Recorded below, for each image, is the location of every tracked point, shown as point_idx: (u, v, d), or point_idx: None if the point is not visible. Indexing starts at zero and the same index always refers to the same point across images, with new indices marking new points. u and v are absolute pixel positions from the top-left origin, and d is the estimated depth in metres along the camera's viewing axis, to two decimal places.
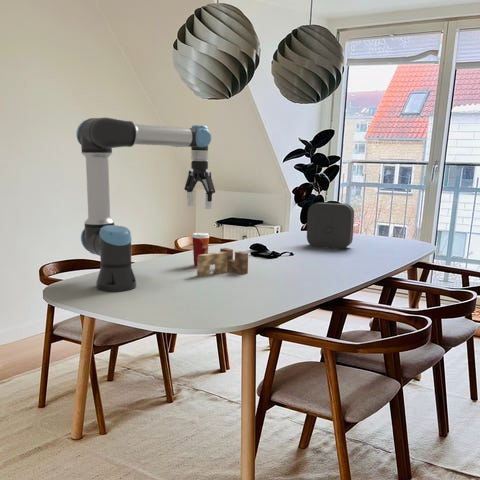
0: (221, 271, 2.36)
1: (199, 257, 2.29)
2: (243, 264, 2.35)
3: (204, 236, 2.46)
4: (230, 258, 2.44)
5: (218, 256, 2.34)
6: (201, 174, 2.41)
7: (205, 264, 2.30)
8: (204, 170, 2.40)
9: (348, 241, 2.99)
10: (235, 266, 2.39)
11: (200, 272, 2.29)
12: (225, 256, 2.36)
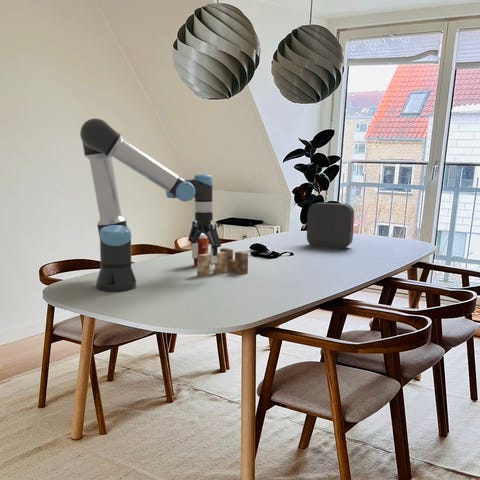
0: (221, 271, 2.36)
1: (199, 257, 2.29)
2: (243, 264, 2.35)
3: (204, 236, 2.46)
4: (230, 258, 2.44)
5: (218, 256, 2.34)
6: (206, 226, 2.25)
7: (205, 264, 2.30)
8: (209, 222, 2.25)
9: (348, 241, 2.99)
10: (235, 266, 2.39)
11: (200, 272, 2.29)
12: (225, 256, 2.36)
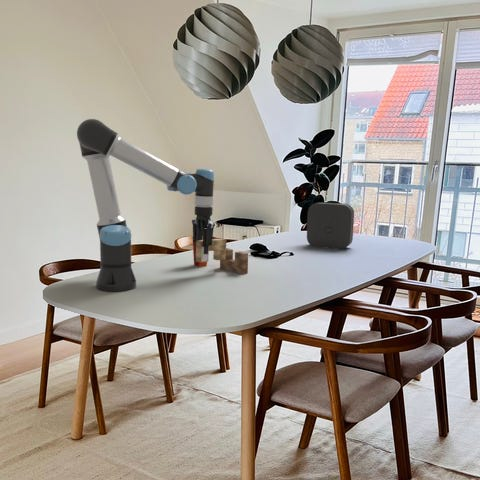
0: (220, 258, 2.35)
1: (198, 243, 2.28)
2: (243, 264, 2.35)
3: None
4: (230, 258, 2.44)
5: (217, 242, 2.33)
6: (205, 221, 2.25)
7: None
8: (208, 217, 2.25)
9: (348, 241, 2.99)
10: (235, 266, 2.39)
11: (198, 258, 2.28)
12: (224, 243, 2.35)
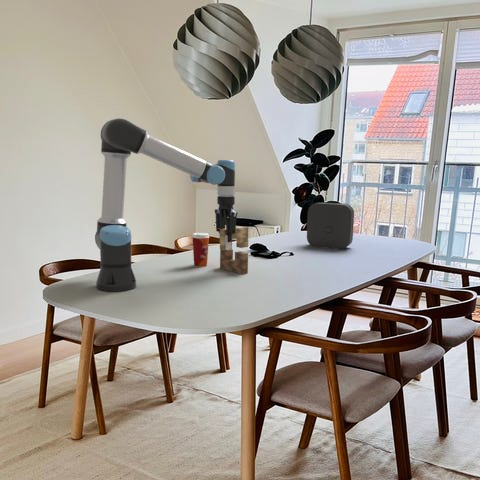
0: (242, 245, 2.42)
1: (222, 231, 2.35)
2: (243, 264, 2.35)
3: (204, 236, 2.46)
4: (230, 258, 2.44)
5: (240, 230, 2.40)
6: (227, 210, 2.32)
7: None
8: (231, 206, 2.32)
9: (348, 241, 2.99)
10: (235, 266, 2.39)
11: (223, 246, 2.35)
12: (246, 231, 2.42)
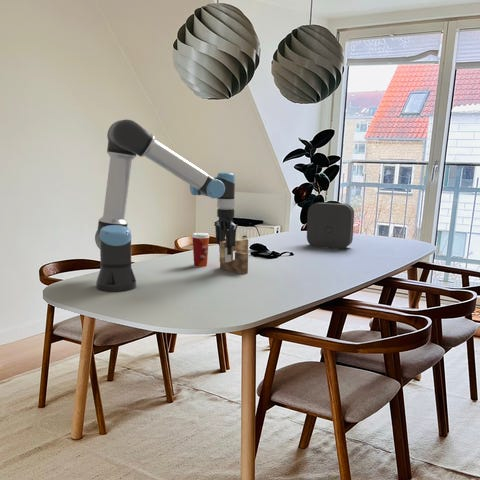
0: None
1: (221, 243, 2.36)
2: (243, 264, 2.35)
3: (204, 236, 2.46)
4: None
5: (240, 242, 2.41)
6: (227, 222, 2.33)
7: None
8: (231, 219, 2.32)
9: (348, 241, 2.99)
10: (235, 266, 2.39)
11: (222, 258, 2.36)
12: (246, 243, 2.43)
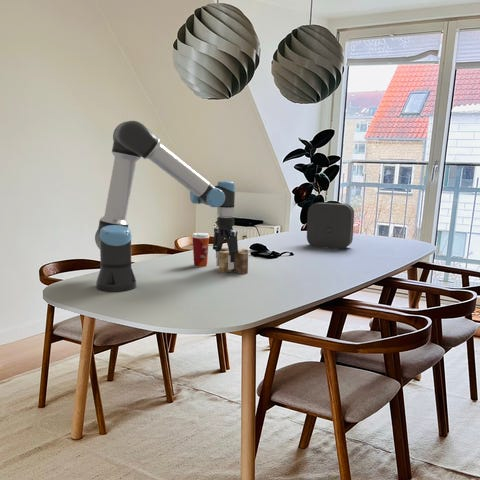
0: None
1: (221, 254, 2.37)
2: (243, 264, 2.35)
3: (204, 236, 2.46)
4: None
5: None
6: (227, 231, 2.33)
7: (227, 261, 2.37)
8: (230, 227, 2.33)
9: (348, 241, 2.99)
10: (235, 266, 2.39)
11: (222, 268, 2.37)
12: None
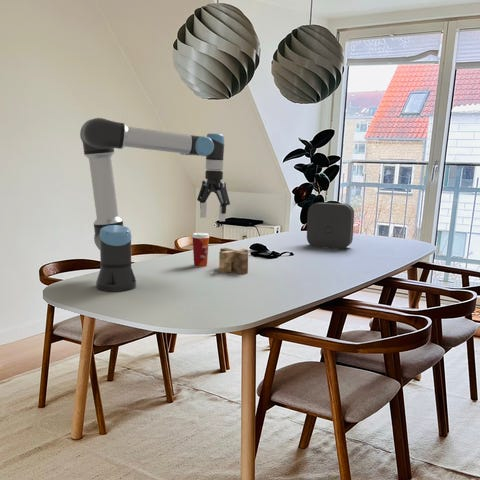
0: None
1: (221, 254, 2.37)
2: (243, 264, 2.35)
3: (204, 236, 2.46)
4: None
5: None
6: (215, 185, 2.29)
7: (227, 261, 2.37)
8: (219, 180, 2.29)
9: (348, 241, 2.99)
10: (235, 266, 2.39)
11: (222, 268, 2.37)
12: None
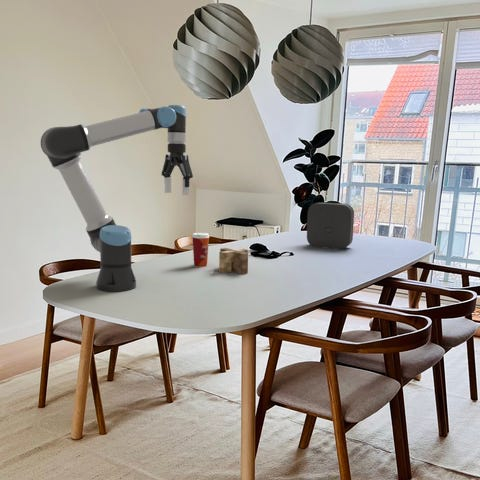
0: None
1: (221, 254, 2.37)
2: (243, 264, 2.35)
3: (204, 236, 2.46)
4: None
5: None
6: (178, 158, 2.24)
7: (227, 261, 2.37)
8: (181, 153, 2.23)
9: (348, 241, 2.99)
10: (235, 266, 2.39)
11: (222, 268, 2.37)
12: None
